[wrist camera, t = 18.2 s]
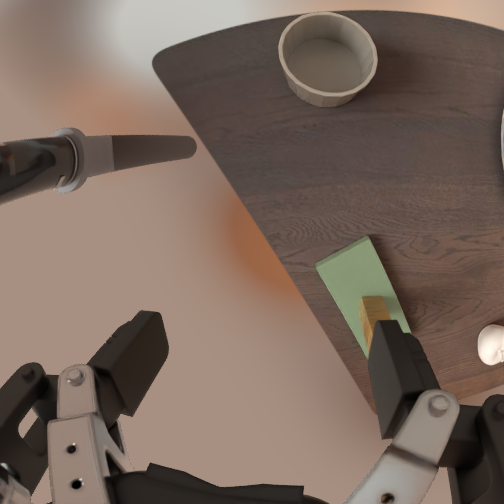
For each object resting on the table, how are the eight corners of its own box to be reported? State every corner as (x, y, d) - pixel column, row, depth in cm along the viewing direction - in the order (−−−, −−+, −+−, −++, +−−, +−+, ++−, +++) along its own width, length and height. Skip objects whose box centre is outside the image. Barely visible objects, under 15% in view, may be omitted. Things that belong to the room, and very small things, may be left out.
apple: (479, 317, 37) (499, 344, 29) (505, 316, 36) (526, 341, 28) (465, 350, 39) (482, 379, 32) (492, 347, 38) (509, 374, 31)
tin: (287, 107, 32) (282, 97, 25) (281, 38, 29) (274, 13, 22) (366, 108, 31) (382, 98, 23) (358, 38, 27) (370, 14, 20)
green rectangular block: (315, 263, 39) (315, 267, 37) (367, 234, 36) (369, 238, 35) (366, 352, 42) (367, 358, 41) (410, 331, 40) (412, 336, 38)
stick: (358, 315, 39) (374, 385, 26) (361, 296, 38) (380, 364, 25) (378, 314, 38) (401, 383, 25) (381, 296, 37) (408, 362, 24)
